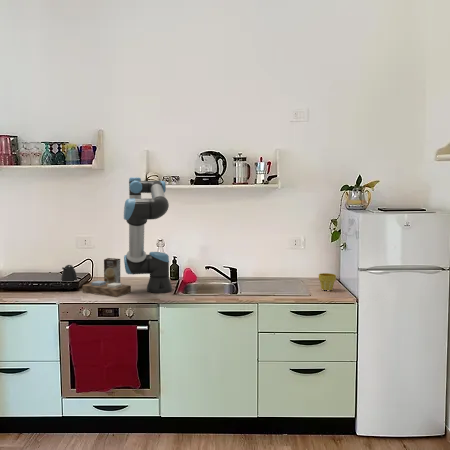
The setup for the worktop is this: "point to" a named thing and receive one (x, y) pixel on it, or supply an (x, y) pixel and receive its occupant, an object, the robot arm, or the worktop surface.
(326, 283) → the plant pot
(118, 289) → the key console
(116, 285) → the white key
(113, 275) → the coffee box
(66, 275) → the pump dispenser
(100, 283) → the blue key
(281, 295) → the worktop surface
